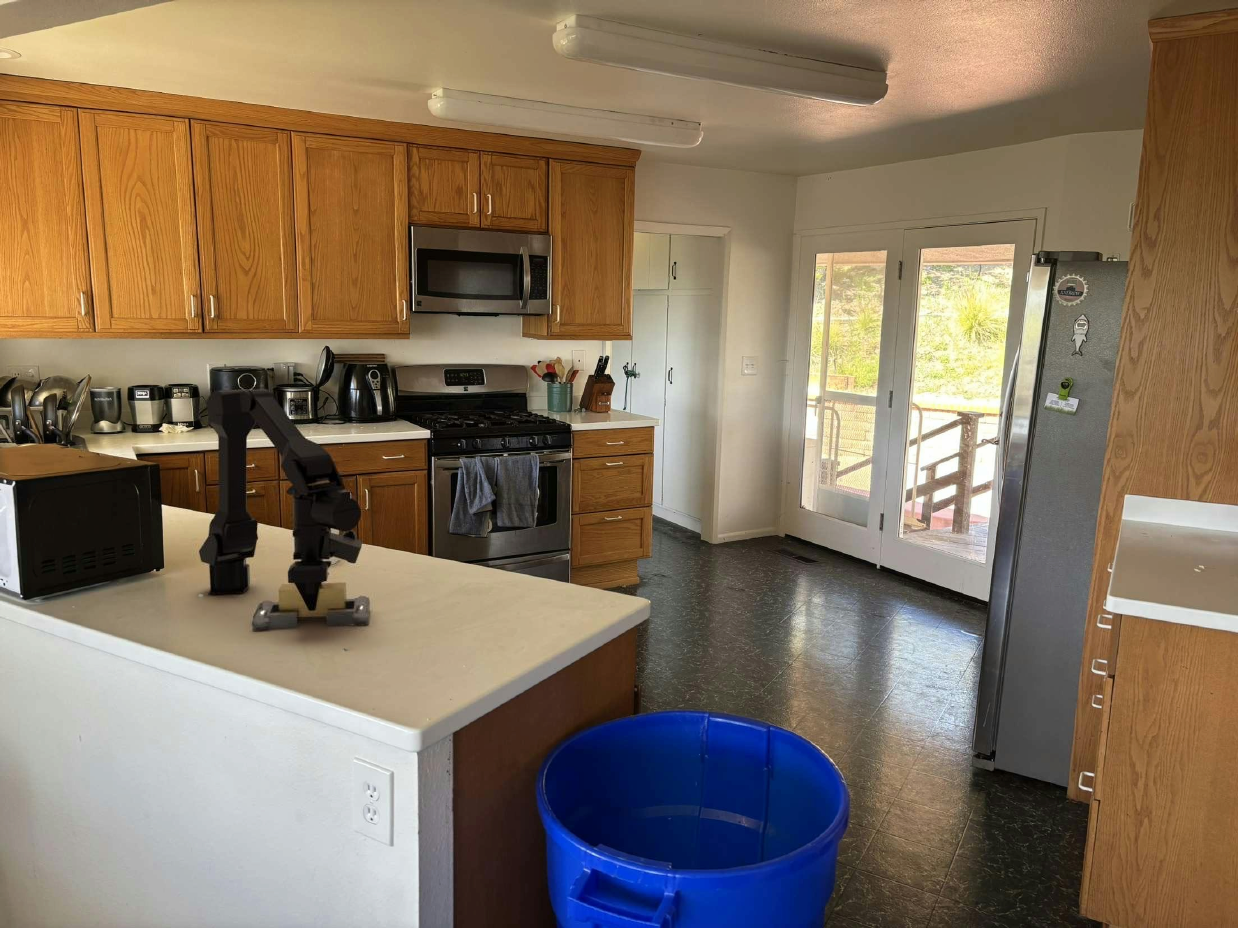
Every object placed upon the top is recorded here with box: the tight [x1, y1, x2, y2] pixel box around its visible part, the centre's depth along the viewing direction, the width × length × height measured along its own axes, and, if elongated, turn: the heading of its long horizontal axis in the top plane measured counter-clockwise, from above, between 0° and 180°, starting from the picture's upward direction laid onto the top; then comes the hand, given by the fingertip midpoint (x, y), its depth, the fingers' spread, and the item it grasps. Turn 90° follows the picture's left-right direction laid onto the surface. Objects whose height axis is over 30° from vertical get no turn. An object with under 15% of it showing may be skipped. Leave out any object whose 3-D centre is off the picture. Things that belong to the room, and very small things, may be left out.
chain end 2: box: [326, 595, 371, 627], centre depth 157 cm, size 7×8×3 cm
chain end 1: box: [251, 599, 298, 632], centre depth 154 cm, size 7×8×3 cm
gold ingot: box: [278, 582, 347, 618], centre depth 155 cm, size 11×3×5 cm, turn 102°
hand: (313, 606), depth 155 cm, fingers closed on gold ingot, 3 cm apart
